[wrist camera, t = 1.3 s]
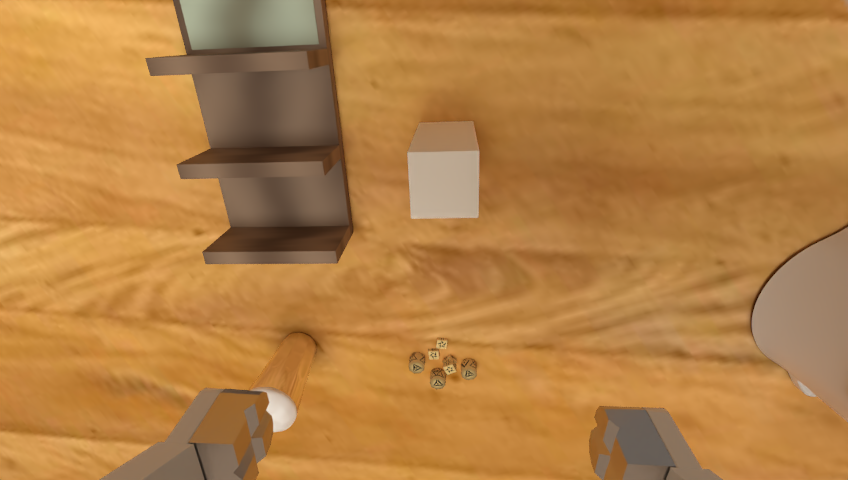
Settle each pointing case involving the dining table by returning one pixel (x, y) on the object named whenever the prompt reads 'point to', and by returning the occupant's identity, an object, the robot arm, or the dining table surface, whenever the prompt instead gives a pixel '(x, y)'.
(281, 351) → the milkshake
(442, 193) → the peg
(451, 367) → the dice set
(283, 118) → the slot rack
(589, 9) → the dining table surface
